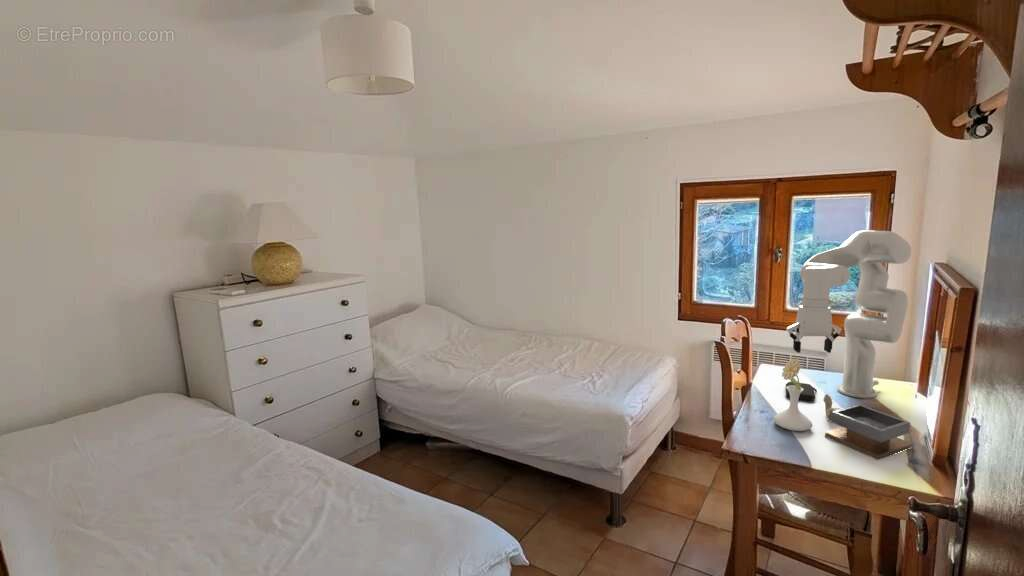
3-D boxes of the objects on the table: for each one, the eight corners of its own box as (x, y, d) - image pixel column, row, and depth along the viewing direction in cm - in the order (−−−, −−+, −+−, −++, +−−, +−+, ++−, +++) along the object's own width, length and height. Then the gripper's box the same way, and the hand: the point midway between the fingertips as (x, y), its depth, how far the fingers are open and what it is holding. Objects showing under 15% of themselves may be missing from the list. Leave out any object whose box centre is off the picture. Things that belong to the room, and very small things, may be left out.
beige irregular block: (849, 423, 159) (832, 395, 161) (828, 428, 162) (812, 401, 164) (850, 415, 165) (834, 389, 168) (830, 421, 169) (815, 394, 171)
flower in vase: (773, 417, 169) (777, 349, 165) (811, 422, 164) (815, 353, 159) (773, 432, 158) (777, 360, 153) (813, 439, 152) (819, 365, 148)
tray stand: (858, 426, 159) (860, 402, 158) (912, 448, 145) (915, 422, 143) (825, 436, 154) (826, 411, 152) (877, 459, 139) (880, 432, 138)
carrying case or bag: (818, 404, 178) (815, 390, 191) (818, 396, 178) (816, 383, 190) (785, 399, 184) (785, 386, 196) (786, 392, 183) (785, 379, 196)
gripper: (837, 300, 163) (833, 348, 166) (783, 301, 165) (780, 348, 168) (849, 305, 156) (845, 355, 159) (793, 305, 158) (790, 355, 161)
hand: (812, 351), depth 163 cm, fingers open, 9 cm apart
